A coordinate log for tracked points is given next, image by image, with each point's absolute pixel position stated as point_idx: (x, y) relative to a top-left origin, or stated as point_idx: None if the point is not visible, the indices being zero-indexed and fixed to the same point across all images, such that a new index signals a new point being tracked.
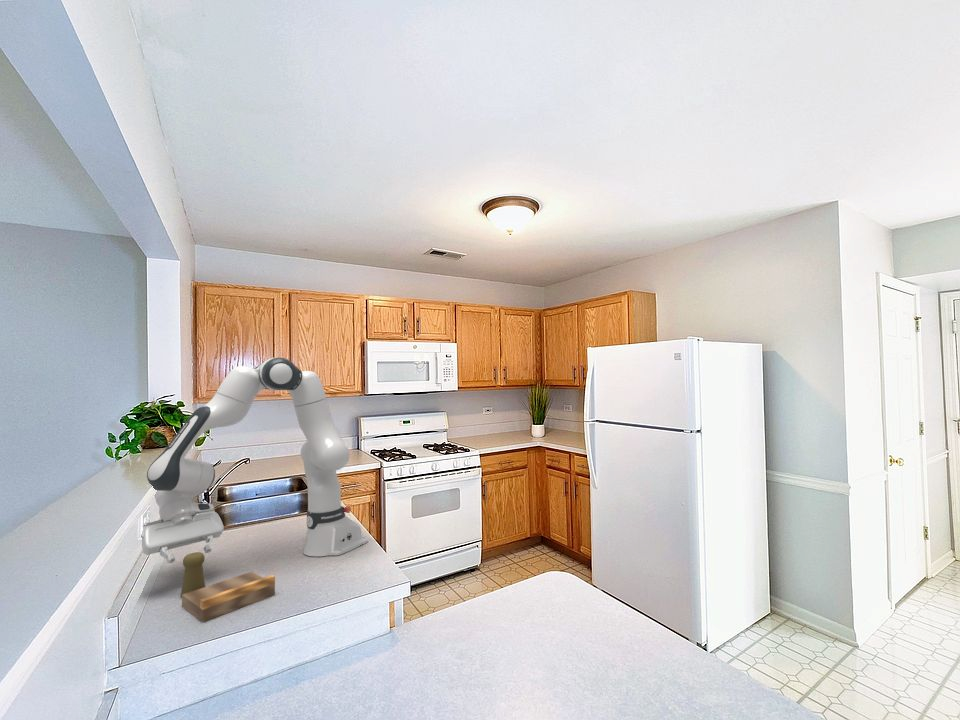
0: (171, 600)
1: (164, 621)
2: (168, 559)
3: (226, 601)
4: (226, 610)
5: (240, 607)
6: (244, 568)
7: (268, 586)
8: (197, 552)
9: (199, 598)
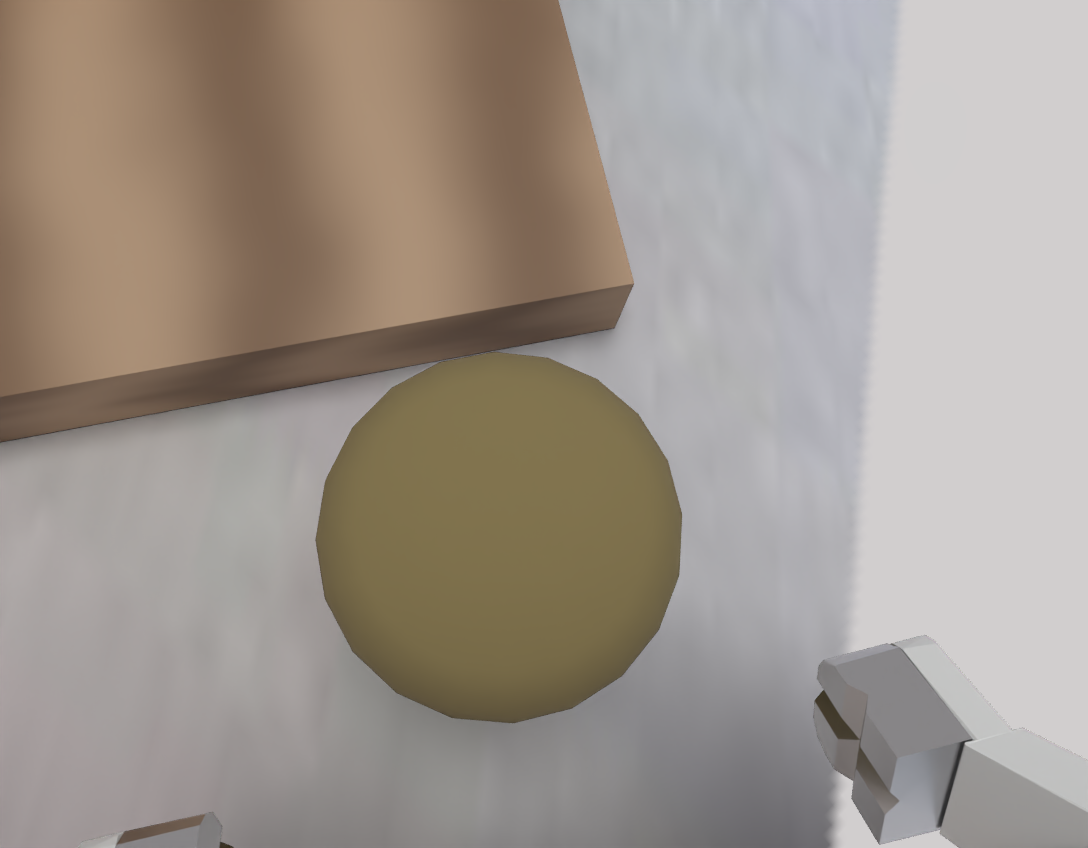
0: (687, 549)
1: (743, 135)
2: (942, 666)
3: None
4: None
5: None
6: None
7: None
8: (426, 569)
9: (503, 72)
